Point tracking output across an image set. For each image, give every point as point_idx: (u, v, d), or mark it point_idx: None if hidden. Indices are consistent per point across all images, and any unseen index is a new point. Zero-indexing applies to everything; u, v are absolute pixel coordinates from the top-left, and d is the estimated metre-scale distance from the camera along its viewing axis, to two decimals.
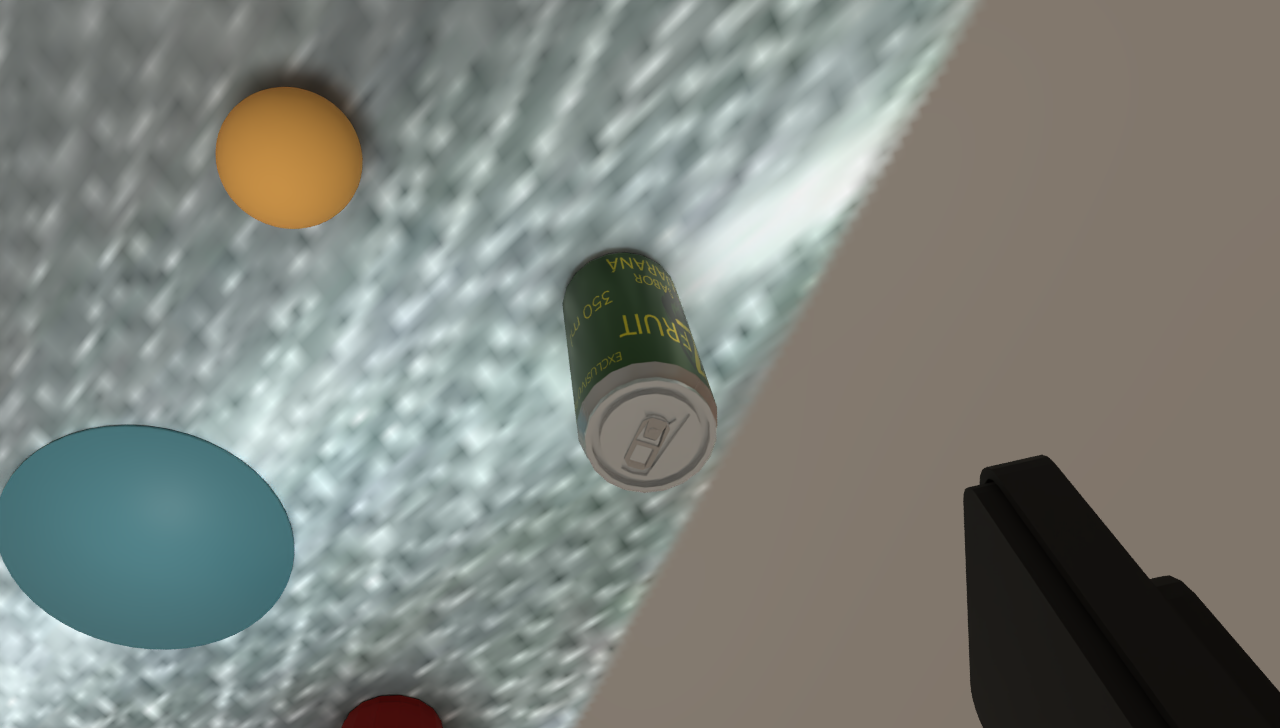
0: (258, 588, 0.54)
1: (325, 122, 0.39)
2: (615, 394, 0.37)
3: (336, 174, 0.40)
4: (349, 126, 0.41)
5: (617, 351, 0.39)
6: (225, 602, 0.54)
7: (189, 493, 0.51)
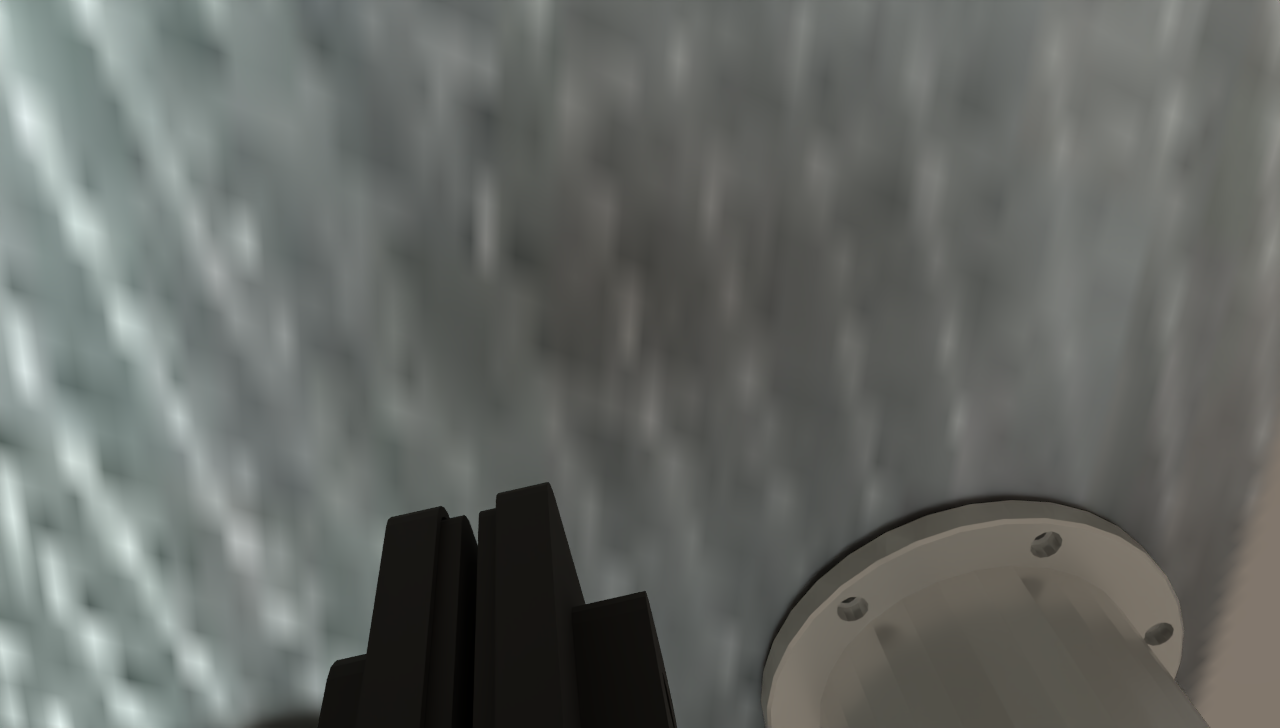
0: None
1: None
2: None
3: None
4: None
5: None
6: None
7: None
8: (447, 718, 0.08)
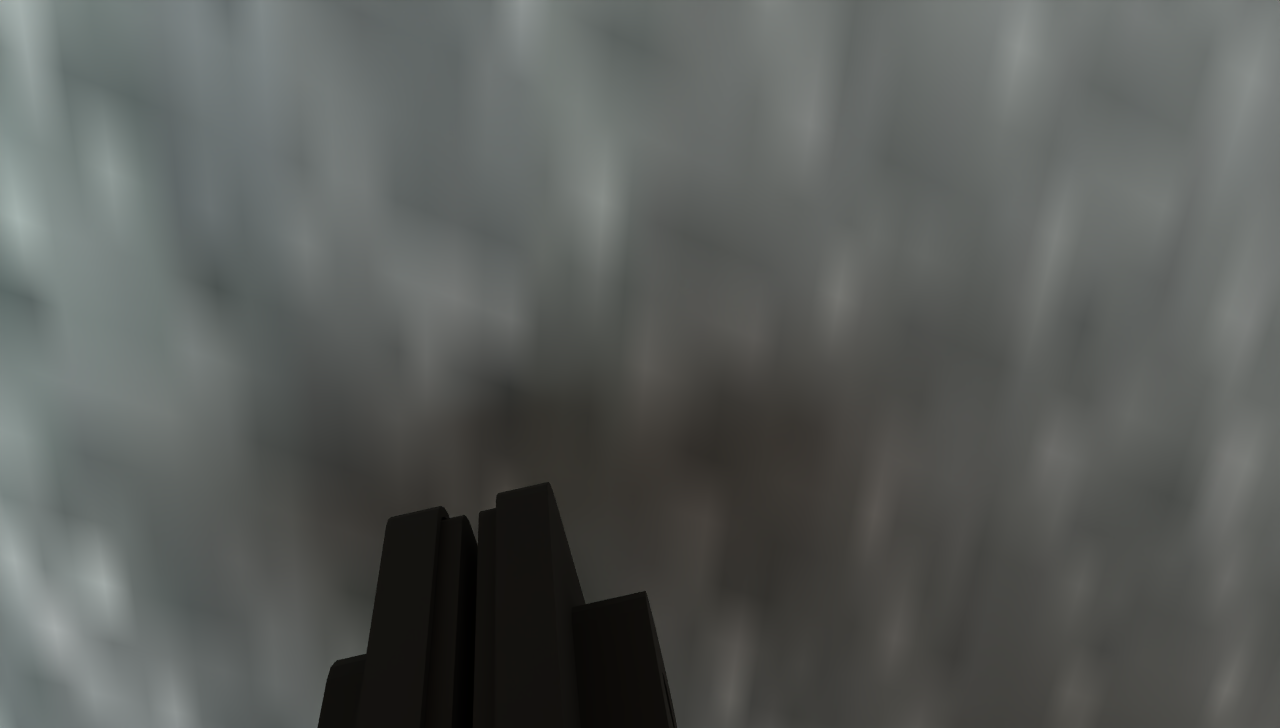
0: None
1: None
2: None
3: None
4: None
5: None
6: None
7: None
8: (446, 718, 0.08)
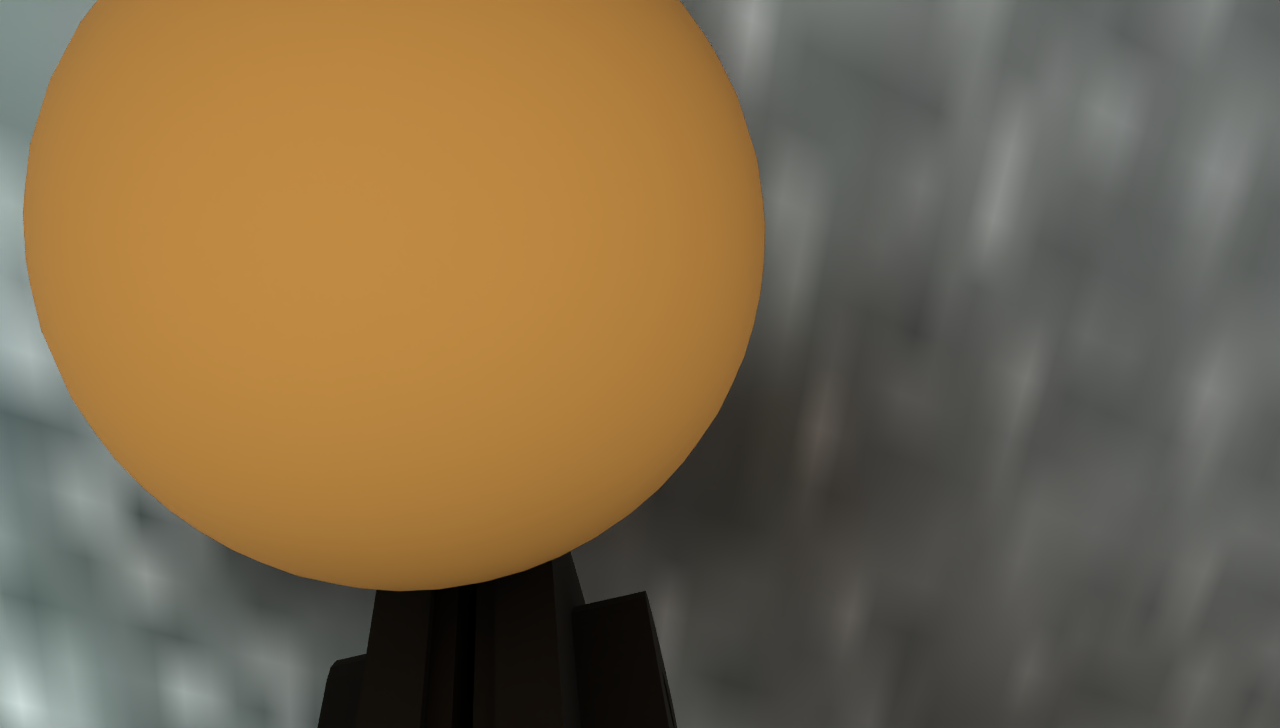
0: None
1: (234, 371, 0.06)
2: None
3: (45, 155, 0.06)
4: (179, 497, 0.07)
5: None
6: None
7: None
8: (447, 718, 0.08)
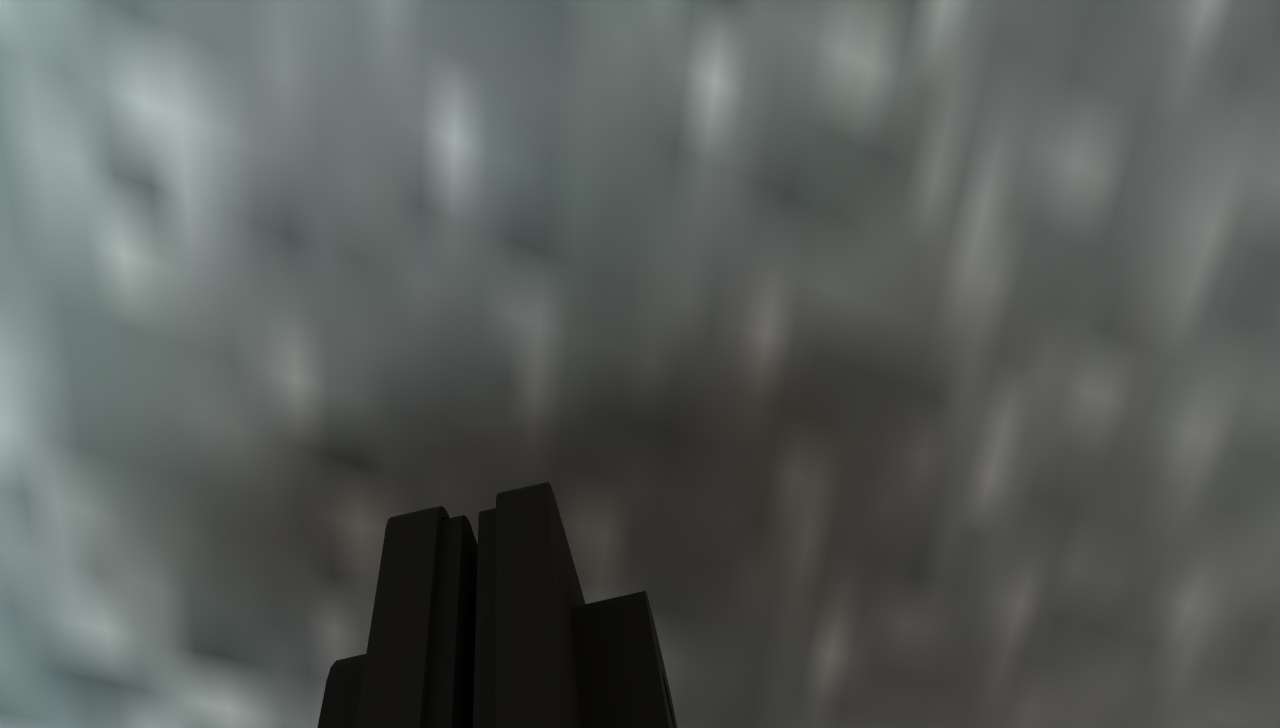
0: None
1: None
2: None
3: None
4: None
5: None
6: None
7: None
8: (447, 718, 0.08)
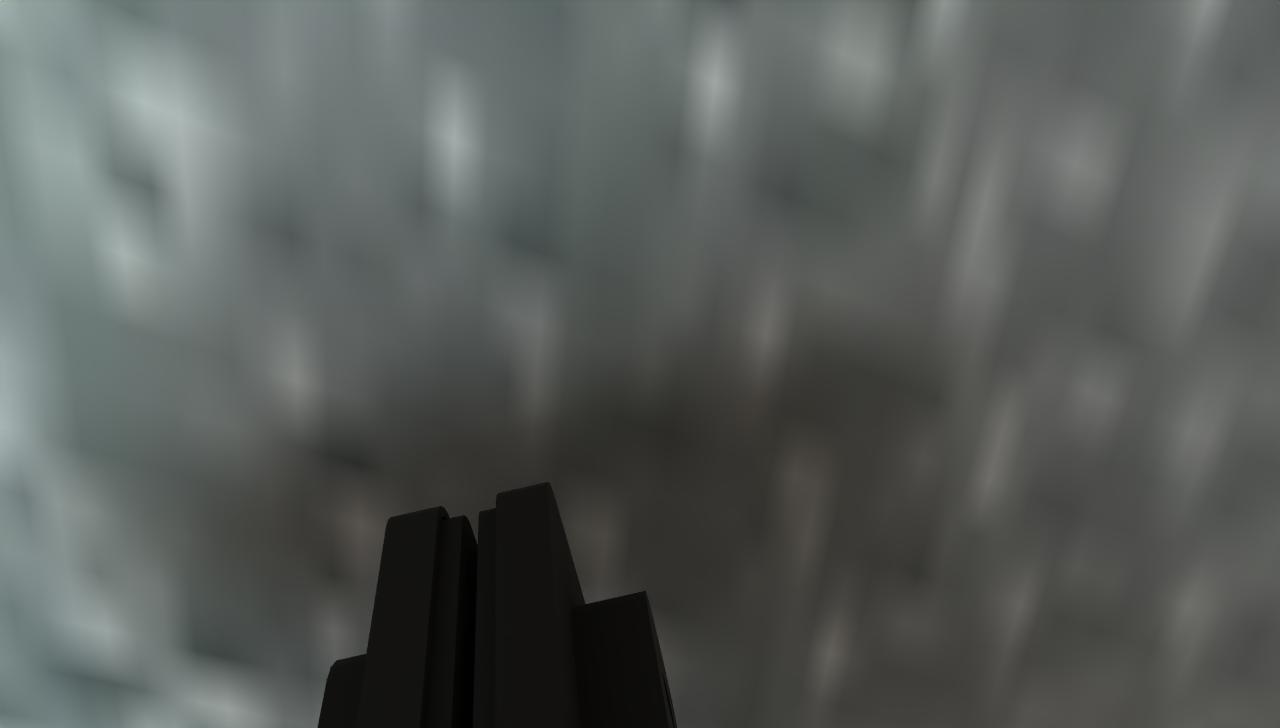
0: None
1: None
2: None
3: None
4: None
5: None
6: None
7: None
8: (447, 718, 0.08)
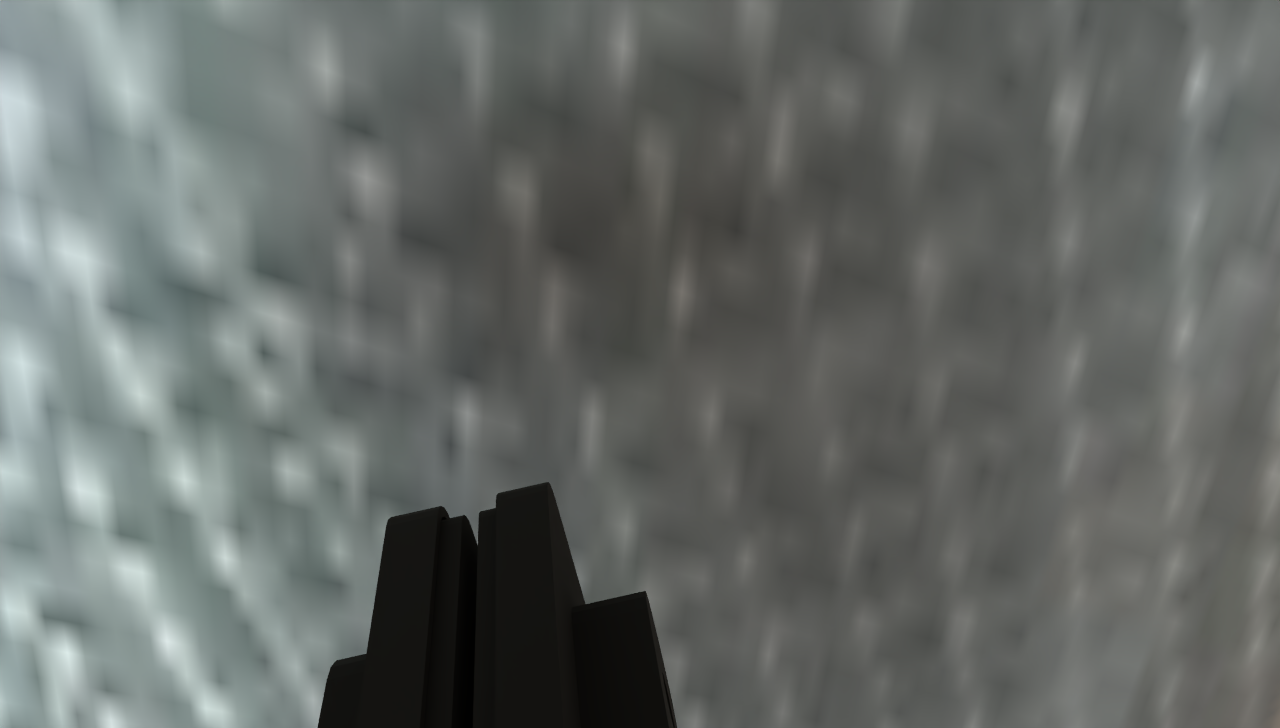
0: None
1: None
2: None
3: None
4: None
5: None
6: None
7: None
8: (447, 718, 0.08)
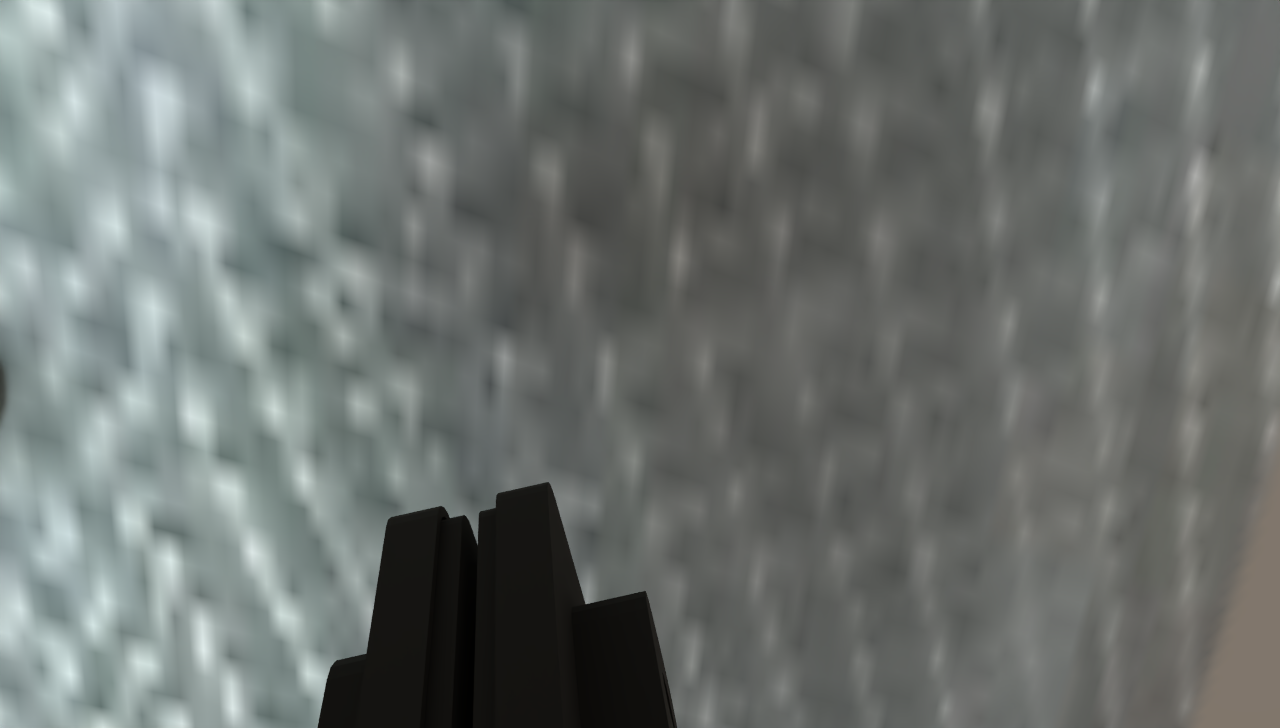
0: None
1: None
2: None
3: None
4: None
5: None
6: None
7: None
8: (447, 718, 0.08)
